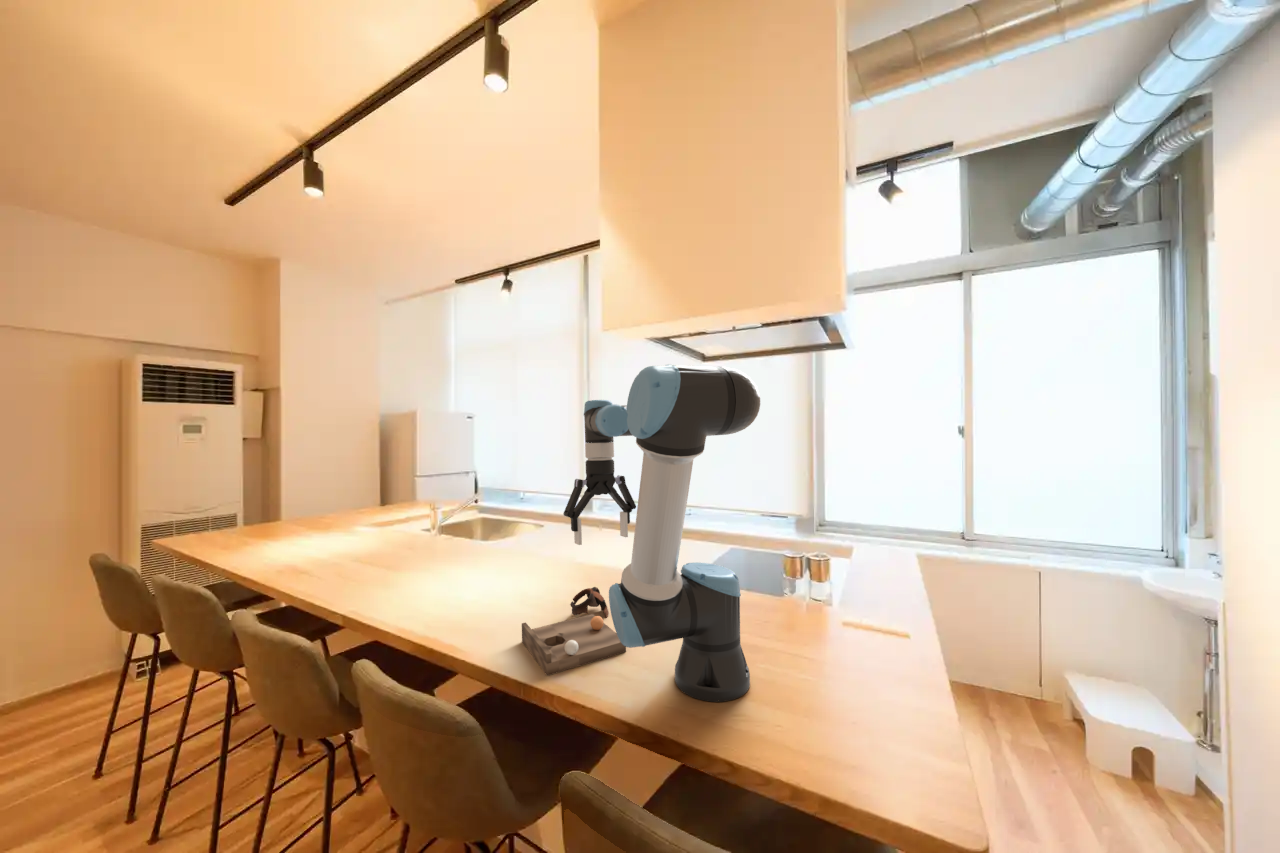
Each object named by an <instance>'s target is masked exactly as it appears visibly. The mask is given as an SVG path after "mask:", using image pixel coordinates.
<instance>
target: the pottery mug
mask: <svg viewBox="0 0 1280 853" xmlns="http://www.w3.org/2000/svg"><path fill="white" fill-rule="evenodd" d="M585 596H586V599H585V600H584V601H583V602H581V603H579V604H577V602H578V601H580V600H581V599H582V598H583V597H585ZM569 605H570V607H571V614H572V615H573V616H578V615H582V614H586V615H589V612H588V609H589V608H588V607H590V608H591V607H593V608H597V607H599V606H600V610H601V611H602V612H603V614H604V617H605V619H607V618H608V617H609V609H608V605H607V602H606V600H605V598H604V597H603V595H602V594H601V592H600V589H599V588H598V587H596V586H593V587H587V588H585V589H584V588H583V589H582V590H580V591H579V592H578V593H577V594H575V595H574V597H573V598H572V600H571V602H570V604H569Z"/></svg>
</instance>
